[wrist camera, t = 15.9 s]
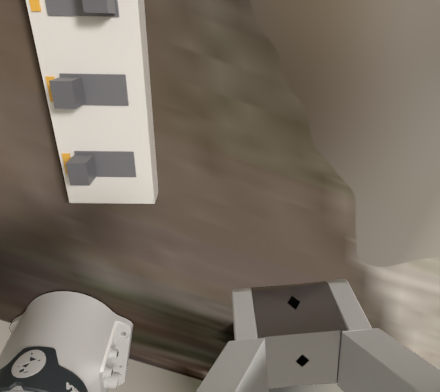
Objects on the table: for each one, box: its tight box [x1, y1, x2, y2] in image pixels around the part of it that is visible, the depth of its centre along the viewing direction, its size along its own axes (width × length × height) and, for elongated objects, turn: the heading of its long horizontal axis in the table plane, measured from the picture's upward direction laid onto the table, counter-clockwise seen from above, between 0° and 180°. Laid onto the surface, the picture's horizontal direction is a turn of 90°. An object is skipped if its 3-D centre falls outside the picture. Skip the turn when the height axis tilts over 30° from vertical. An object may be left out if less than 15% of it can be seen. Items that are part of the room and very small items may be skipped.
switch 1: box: [66, 155, 97, 186], centre depth 36 cm, size 2×2×2 cm
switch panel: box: [26, 0, 158, 204], centre depth 35 cm, size 26×10×3 cm, turn 179°
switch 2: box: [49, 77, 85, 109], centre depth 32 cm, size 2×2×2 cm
